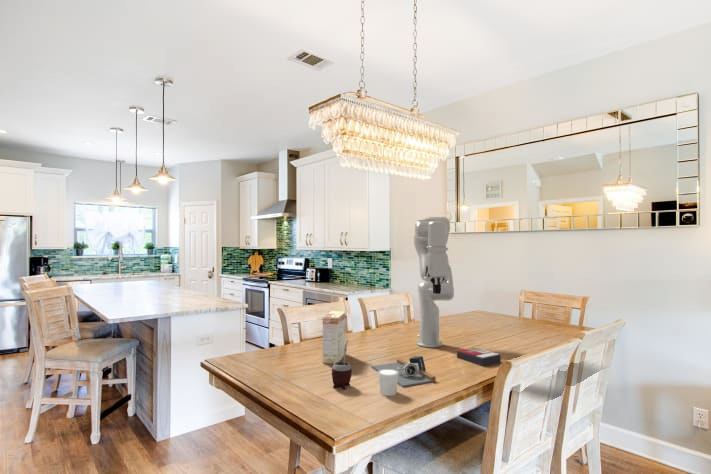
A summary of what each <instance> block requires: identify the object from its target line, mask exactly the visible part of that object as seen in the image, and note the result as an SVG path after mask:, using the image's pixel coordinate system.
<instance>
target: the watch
mask: <svg viewBox="0 0 711 474" xmlns="http://www.w3.org/2000/svg"><path fill="white" fill-rule="evenodd" d="M408 361H409V362H408ZM408 361H407V362H408V364H405V365H402V366H400V367H398V373H399V375H404V376H408V377H414V376H415V375H416V374H417V373H418V371H419V370H424V371H426V370H427V369H426V366H425V360H424V357H423V356H417V355H416V356H412V357H410V358H408ZM426 372H427V371H426Z"/></svg>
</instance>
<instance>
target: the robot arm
mask: <svg viewBox="0 0 711 474" xmlns="http://www.w3.org/2000/svg"><path fill="white" fill-rule="evenodd" d="M450 229H451V223H450V219H448V217H446V216H427V217H425V218H424V217H423V219H418V220H416V222H415V223H414V235H413V243H414V244H413V245H414V248H415V251H416V253H417V256H418V258H419V259H418V260H419V261H418V262H419V274H420V275H419V276H420V278H421V279H422V282H420V283H419V284H418V288H417V291H418V298H419V334H417V335H416V337H418V340H416V345H417V346H420V347H424V348H432V349H433V348H440V347H442V346H443V342H442V341H440V308H439V306H438V305H437V304H436V303H435V302H436V301H441V302H442V301H444V302H445V301H452V300H453V299H454V296H455V289H454V281H453V280H454V279H453V270H452V268H451V266H450V264H449V257H448V253H447V251H449V247H447V244H448V241H449V235H450V231H451V230H450Z"/></svg>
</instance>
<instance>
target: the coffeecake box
mask: <svg viewBox="0 0 711 474" xmlns="http://www.w3.org/2000/svg"><path fill="white" fill-rule="evenodd" d="M345 344H346V311H343V310H342V311H341V310H340V311H339V310H331V311H330V312H328V313H327V314H325V315H324V316H322V363H323V364H333V365H334V364H335V363H337V362H341V360H342V359H344V348H345Z"/></svg>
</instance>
